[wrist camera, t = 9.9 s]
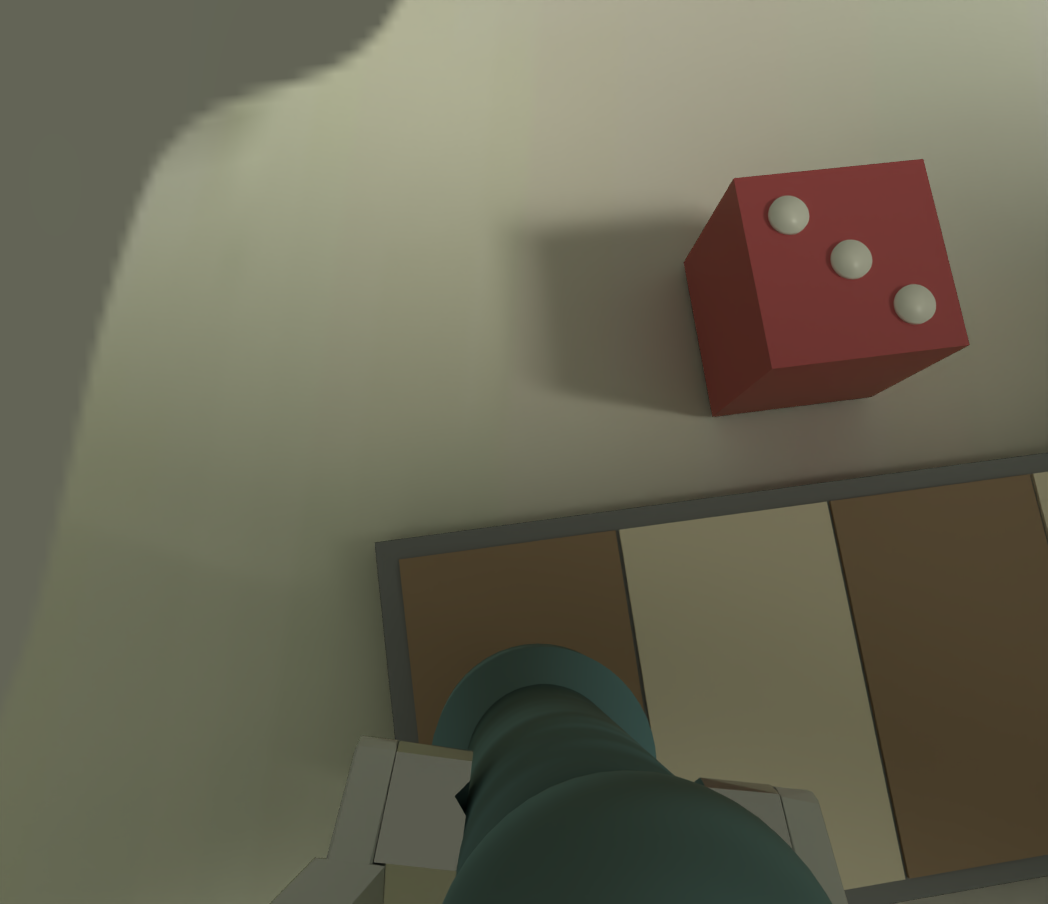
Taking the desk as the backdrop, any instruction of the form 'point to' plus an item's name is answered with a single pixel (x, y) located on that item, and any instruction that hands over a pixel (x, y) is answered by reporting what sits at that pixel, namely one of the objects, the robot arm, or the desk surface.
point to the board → (789, 651)
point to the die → (821, 287)
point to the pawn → (594, 799)
